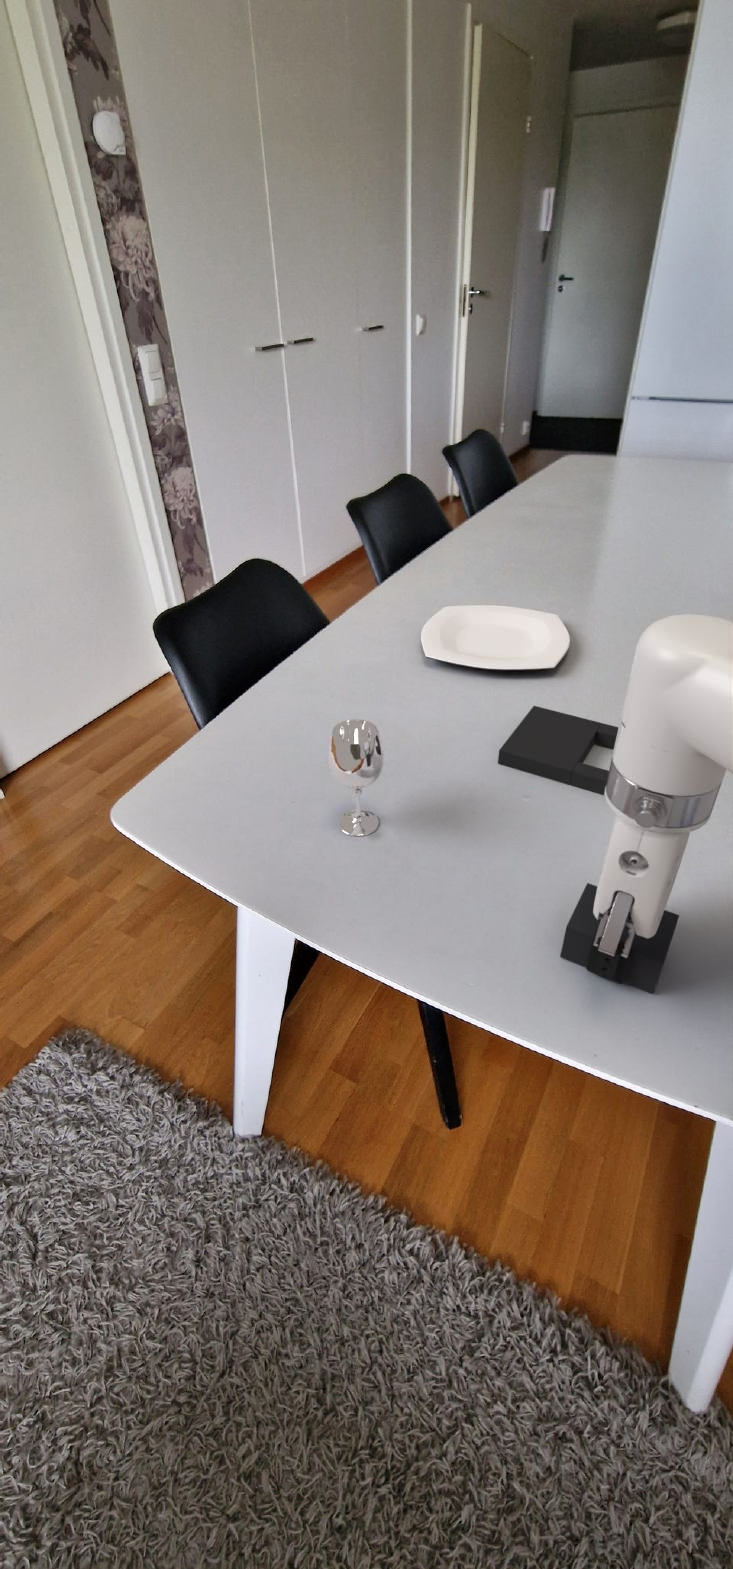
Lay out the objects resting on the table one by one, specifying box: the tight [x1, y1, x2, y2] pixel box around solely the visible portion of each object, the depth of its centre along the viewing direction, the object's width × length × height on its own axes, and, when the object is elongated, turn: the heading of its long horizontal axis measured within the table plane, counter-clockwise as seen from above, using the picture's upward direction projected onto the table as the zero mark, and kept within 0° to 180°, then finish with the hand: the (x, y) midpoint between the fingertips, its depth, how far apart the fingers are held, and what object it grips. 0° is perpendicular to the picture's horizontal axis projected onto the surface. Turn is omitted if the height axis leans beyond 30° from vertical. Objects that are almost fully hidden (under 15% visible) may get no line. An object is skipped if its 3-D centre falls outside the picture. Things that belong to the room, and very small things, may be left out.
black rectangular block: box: [559, 882, 680, 995], centre depth 61 cm, size 8×6×4 cm
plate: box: [420, 604, 571, 671], centre depth 111 cm, size 23×23×2 cm
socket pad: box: [497, 705, 619, 796], centre depth 86 cm, size 16×12×2 cm
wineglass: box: [327, 718, 385, 837], centre depth 74 cm, size 6×6×12 cm
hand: (615, 946), depth 62 cm, fingers closed on black rectangular block, 6 cm apart
